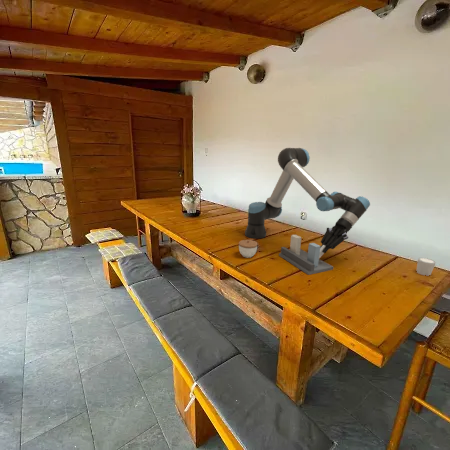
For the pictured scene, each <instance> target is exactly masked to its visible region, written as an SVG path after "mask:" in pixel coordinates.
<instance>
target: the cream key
mask: <svg viewBox="0 0 450 450" xmlns="http://www.w3.org/2000/svg"><path fill="white" fill-rule="evenodd" d="M301 243H302V237H301V236H300V235H297V234H291V236H290V245H289V246H290V247H289V250H291V251H292V252H294V253H296V254H297V255H300V250H301V245H302V244H301Z"/></svg>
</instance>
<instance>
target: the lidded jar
mask: <svg viewBox="0 0 450 450" xmlns="http://www.w3.org/2000/svg"><path fill="white" fill-rule="evenodd" d="M238 250H239V253H240V254H241V256H242V257H244V258H247V259H248V258H252V257H253V256H254V255H256V253H257V251H258V242H257V241H255V240H251V239H242V240H240V241H239V242H238Z"/></svg>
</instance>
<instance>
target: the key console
mask: <svg viewBox="0 0 450 450" xmlns="http://www.w3.org/2000/svg"><path fill="white" fill-rule="evenodd" d="M278 256H279V257H280V258H282V259H284V260H285V261H287V262H288V263H289V264H291V265H292V266H294V267H296V268H297V269H299V270H300V271H302V272H303V273H305V274H306V275H313V274H319V273H324V272H329V271H333V270H334V266H333V265H331V264H329V263H328V262H326V261H324V260H321V259H320V258H319V262H318V266H317V267H314V266H315V264H313V263H311V262H309V261H308V260H307V256H308V251H305V250H303V249H302V248H300V255H297V254H296V253H294V252H292V251H291V250H290V248H287V247H286V246H281V247H280V252H279V253H278Z"/></svg>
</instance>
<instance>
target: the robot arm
mask: <svg viewBox="0 0 450 450" xmlns="http://www.w3.org/2000/svg"><path fill="white" fill-rule="evenodd" d="M310 159H311V157H310V153H309V152H308V151H307V149H306V148H301V147H286V148H283V149H282V150H280V152H279V154H278V156H277V163H278V166H279V167H280V169H282V171H281V174H280V176H279V178H278V181H277V182H276V184H275V187H274V189H273V191H272V193H271V195H270V196H269V197H267V198H266V201H265V202H262V201H255V202H251V203H250V204H249V205H248V209H247V211H248V212H247V213H248V215H247V225H246V229H245V233H244V235H245V236H246V237H247V238H250V239H255V240H256V239H257V240H258V239H264V238H266V237H267V231H266V227H265V221H266V220H270V219H275V218H278V217H279V216H281V214H282V211H283V209H282V208H283V203H282V202H283V200H284V197H285V196H286V194H287V192H288V190H289V188H290V186H291V184H292V183H293V181H294V180H295V182H297V184H298V185H299V186H301V187H302V189H303V190H304V191H305V192H306V193H307V194H308V196H310V197H311V198H312V199H313V200H314V201H315V203H316V204H315V206H316V208H317V209H318V211H320V212H329V211H333V210H338V209H341V210H343V211H344V212H343V214H342V215H341V216H340V217H339V219H337V221H336V222H335V224H334V225H333V226H332V227H326V230H325V233H324V235H323V236H322V238H321V240H320V243H321V245H320V246H321V247H320V255H319V259H320V258H321V257H322V256H324V254H326V253H327V252H328V250H330V249H331V250H334V249H335V248H337V247H338V246H339V245H340V244H341V243H342V242H344V241H345V240H347V239H349V236H348V235H347V233H349V231H351V229H352V228H353V226H354V225H355V224H356V223H357V222H358V221H359V219H361V217H362V216H363V215H364V214H365V213H366V212H367V210H368V208H369V207H370V206H371V202H370V200H368V198H366V197H364V196H362V195H361V196H357V197H356V198H354V197H350V196H349V195H346V194H343V193H342V192H338V191H333V192H331V193H329V192H328V191H327V190H326V189H325V188H324V187H323V186H322V185H321V184H320V183H319V182H318V181H317V180H316V179H315V178H314V177H313V176H312V175H311V174H310V173H309V172H308V171H307V170H306V169H305V167H306V166H308V164H309V163H310V161H311V160H310Z"/></svg>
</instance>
